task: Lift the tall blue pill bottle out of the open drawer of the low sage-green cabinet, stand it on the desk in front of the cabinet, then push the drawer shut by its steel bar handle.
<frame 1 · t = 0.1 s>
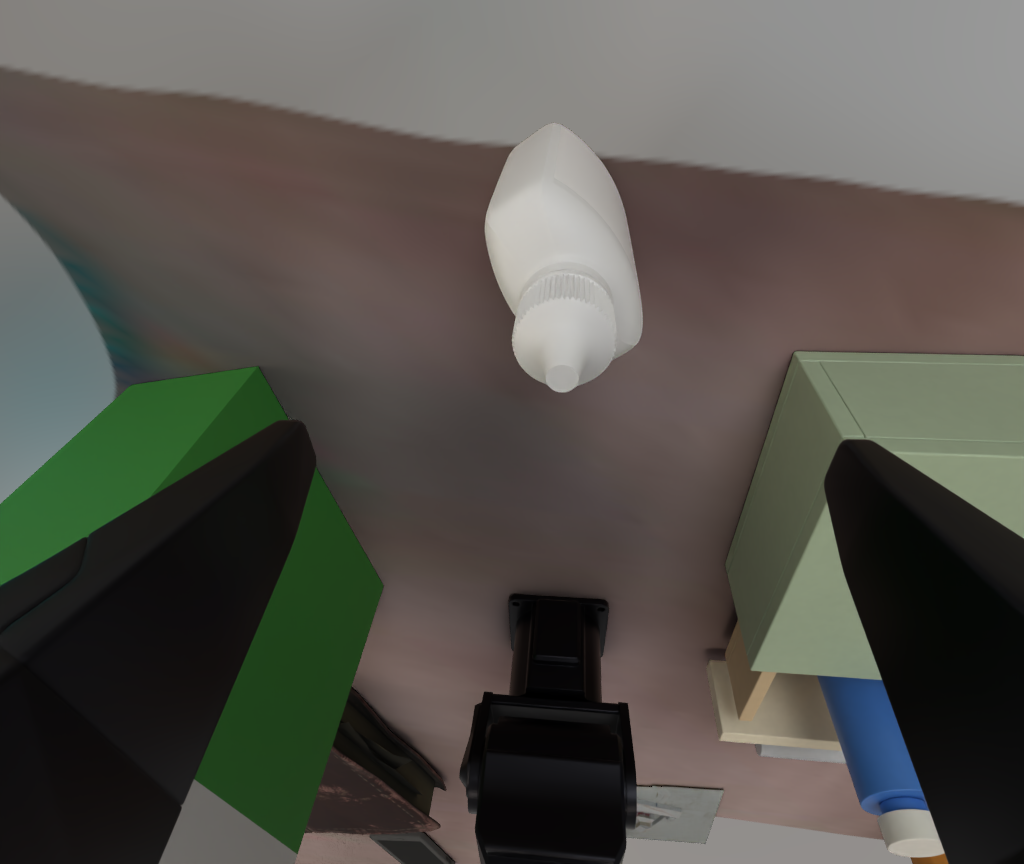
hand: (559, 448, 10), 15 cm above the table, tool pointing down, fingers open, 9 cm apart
diary: (315, 727, 54), on the table
cabinet: (905, 480, 28), on the table
cell phone: (415, 845, 75), on the table
hardback book: (276, 496, 34), on the table
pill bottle: (840, 645, 34), point 2 cm above the table, touching drawer
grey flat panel: (631, 793, 57), on the table
drawer: (840, 677, 34), point 3 cm above the table, slide at 9.0 cm, touching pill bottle
eye dropper bottle: (571, 200, 21), on the table
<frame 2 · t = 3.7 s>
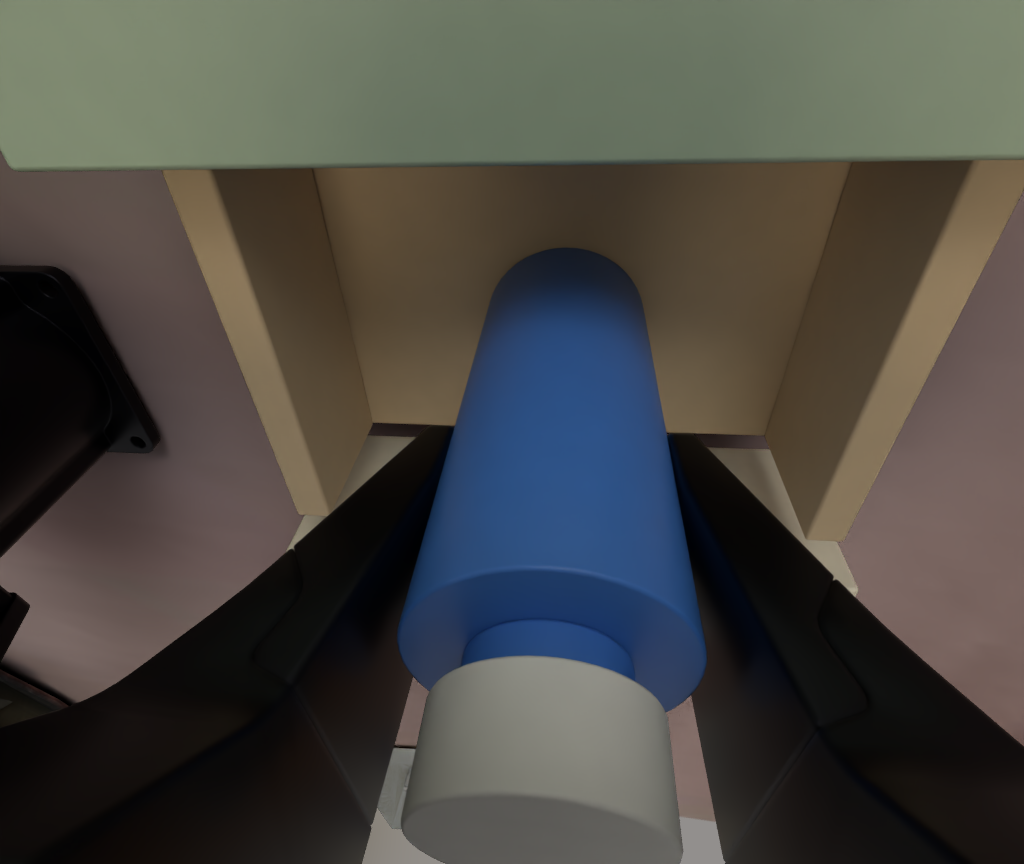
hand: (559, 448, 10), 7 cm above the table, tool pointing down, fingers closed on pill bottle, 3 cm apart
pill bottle: (564, 322, 13), point 2 cm above the table, touching drawer, gripper
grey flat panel: (412, 761, 36), on the table
drawer: (562, 400, 13), point 3 cm above the table, slide at 9.0 cm, touching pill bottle
when the fingers open (4 cm above the table, at t = 8.8 s): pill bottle stays where it is, on the table.
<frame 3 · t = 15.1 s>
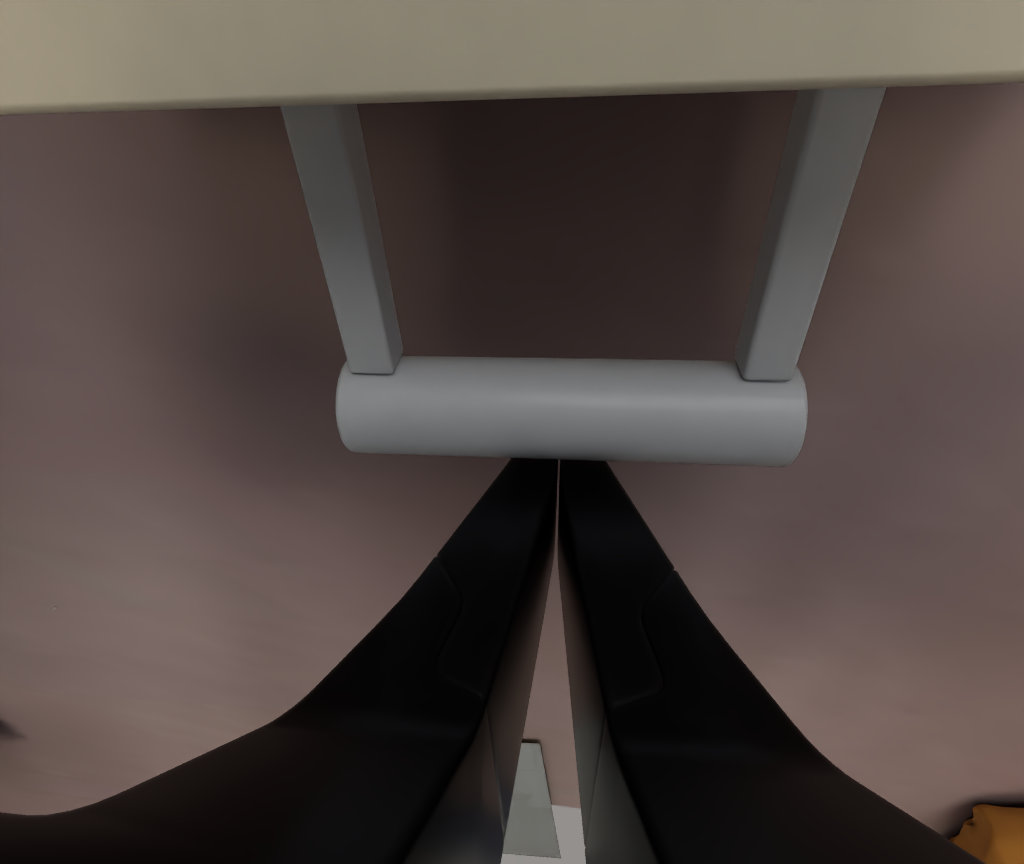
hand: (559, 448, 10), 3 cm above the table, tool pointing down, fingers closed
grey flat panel: (370, 756, 27), on the table
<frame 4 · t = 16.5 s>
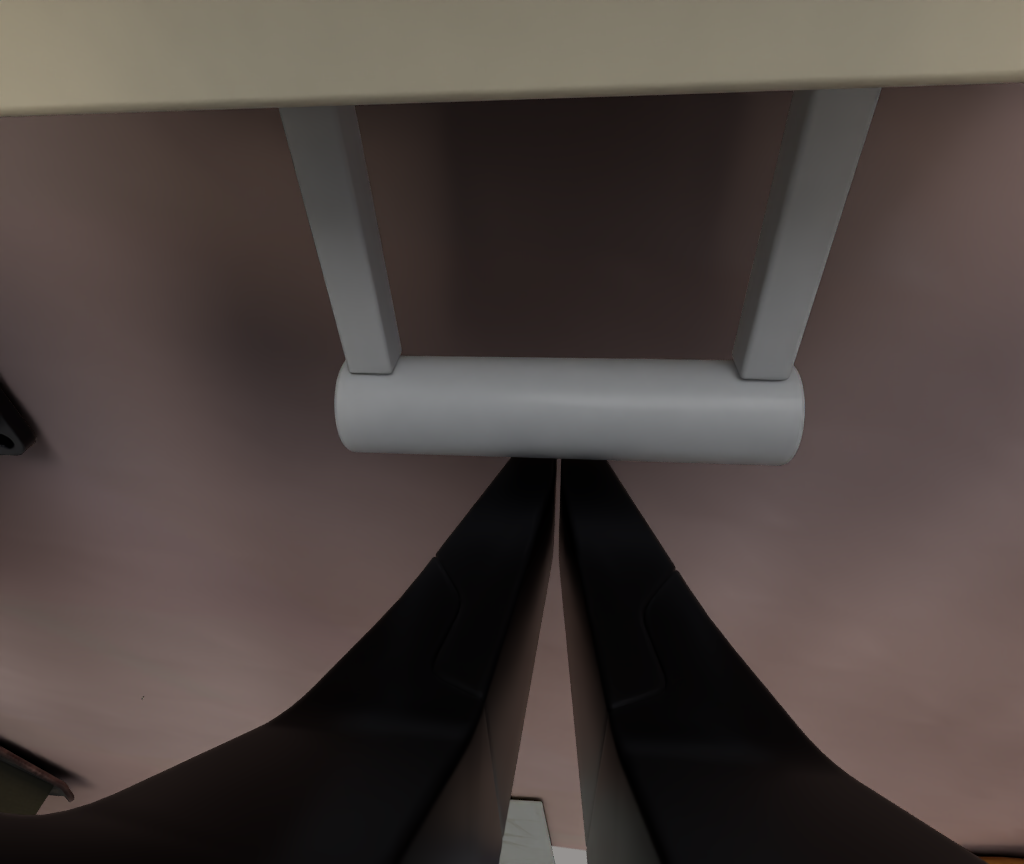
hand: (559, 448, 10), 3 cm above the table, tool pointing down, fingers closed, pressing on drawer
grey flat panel: (396, 806, 32), on the table
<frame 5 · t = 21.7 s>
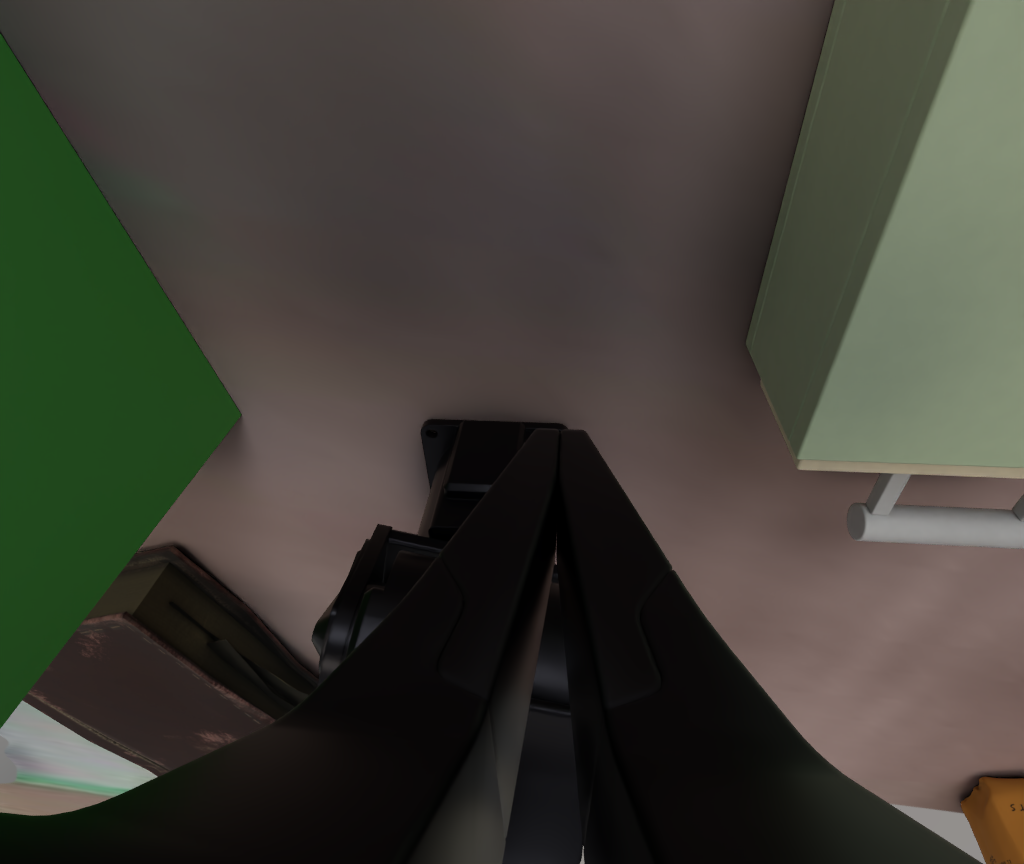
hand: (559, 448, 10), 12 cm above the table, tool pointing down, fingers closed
diary: (208, 662, 42), on the table
hardback book: (44, 240, 21), on the table
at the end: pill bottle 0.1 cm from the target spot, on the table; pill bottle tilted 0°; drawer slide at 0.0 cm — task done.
